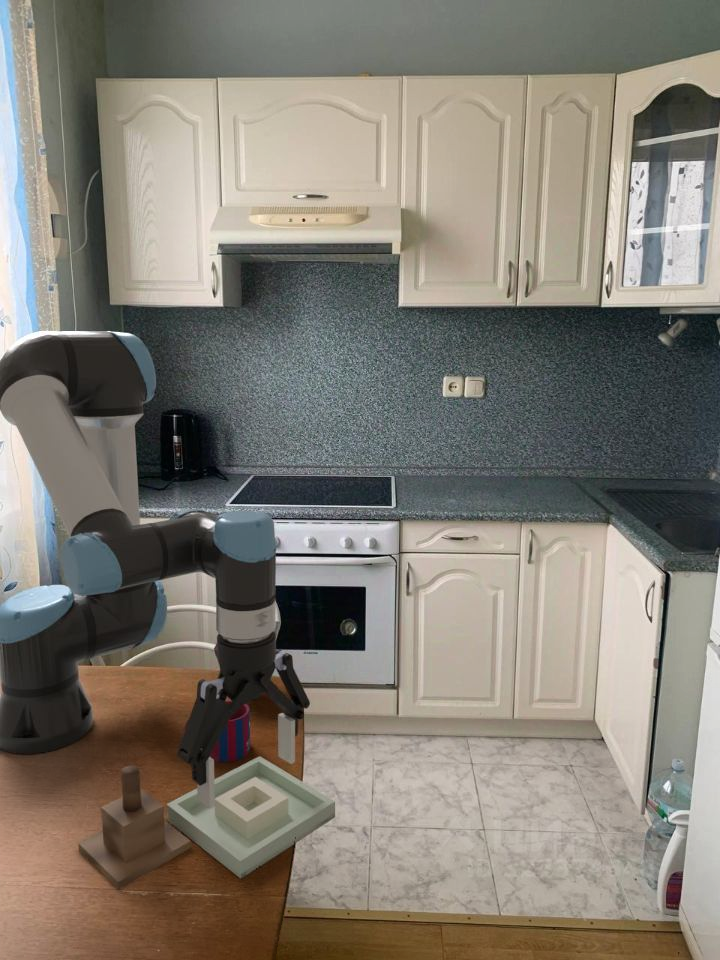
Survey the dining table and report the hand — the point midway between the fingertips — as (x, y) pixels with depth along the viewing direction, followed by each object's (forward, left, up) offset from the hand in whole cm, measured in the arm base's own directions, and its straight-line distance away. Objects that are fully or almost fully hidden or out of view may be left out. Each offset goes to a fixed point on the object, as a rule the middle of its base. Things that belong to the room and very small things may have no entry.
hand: (248, 780), depth 100 cm
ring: (+1, 0, -5) cm, 5 cm away
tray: (0, 0, -5) cm, 6 cm away
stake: (-6, -14, -5) cm, 16 cm away
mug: (-17, +7, -6) cm, 19 cm away
